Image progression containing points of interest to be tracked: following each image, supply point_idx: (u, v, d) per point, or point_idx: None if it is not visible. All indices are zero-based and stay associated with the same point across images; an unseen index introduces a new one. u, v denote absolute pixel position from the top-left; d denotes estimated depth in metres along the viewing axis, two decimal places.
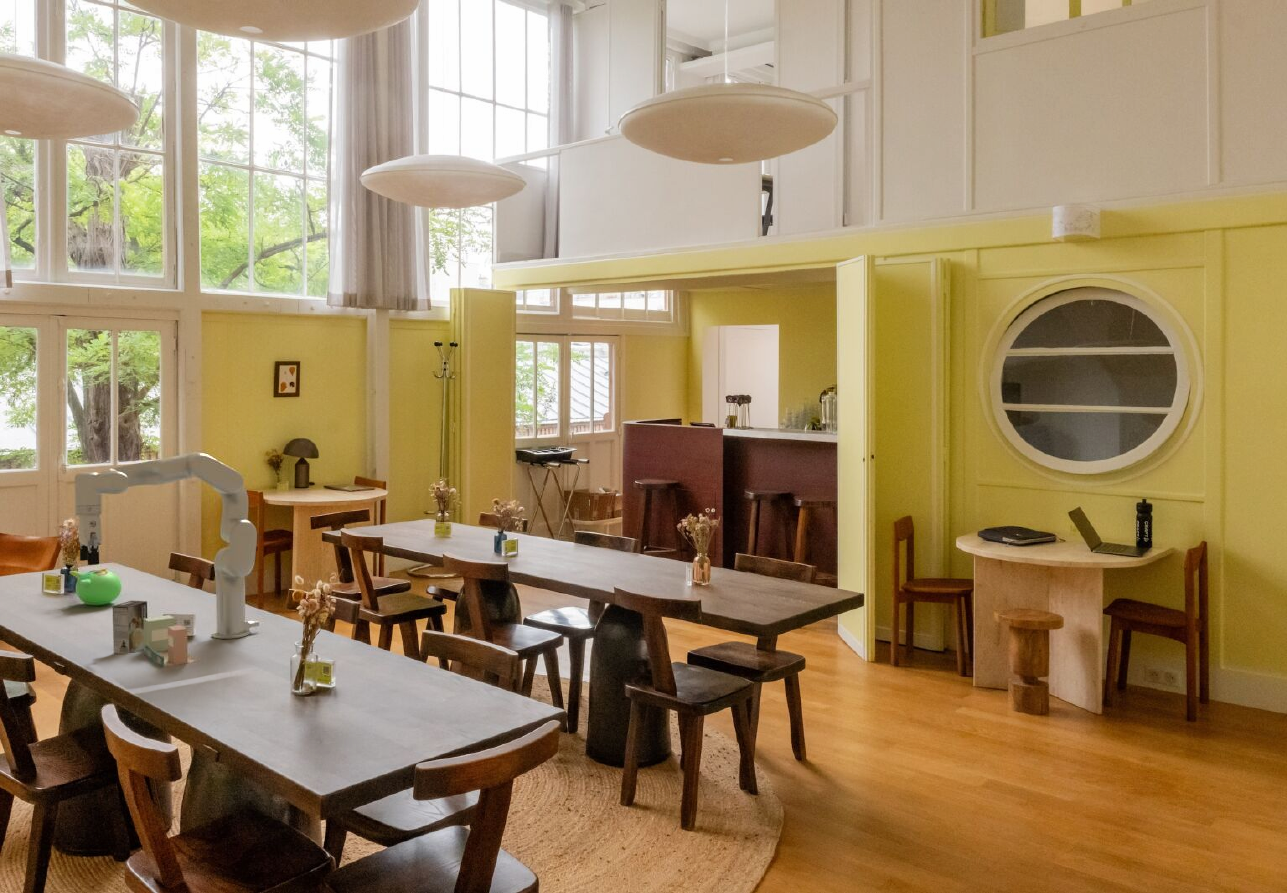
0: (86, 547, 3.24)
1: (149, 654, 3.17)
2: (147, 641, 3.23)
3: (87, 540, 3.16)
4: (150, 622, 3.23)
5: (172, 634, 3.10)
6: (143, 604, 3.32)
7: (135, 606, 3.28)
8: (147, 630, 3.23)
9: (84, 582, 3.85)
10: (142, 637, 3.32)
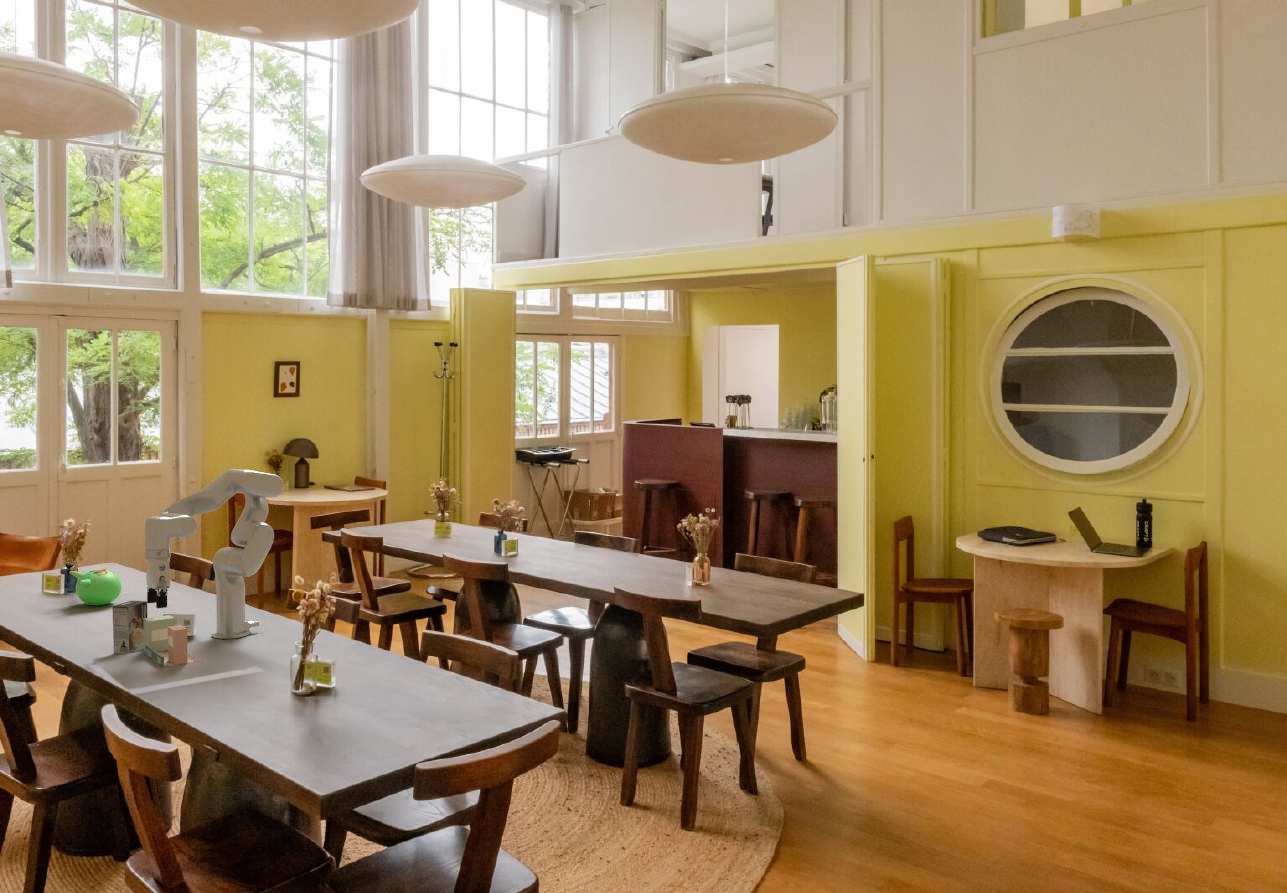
0: (153, 590, 3.29)
1: (149, 654, 3.17)
2: (147, 641, 3.23)
3: (156, 584, 3.21)
4: (150, 622, 3.23)
5: (172, 634, 3.10)
6: (143, 604, 3.32)
7: (135, 606, 3.28)
8: (147, 630, 3.23)
9: (84, 582, 3.85)
10: (142, 637, 3.32)
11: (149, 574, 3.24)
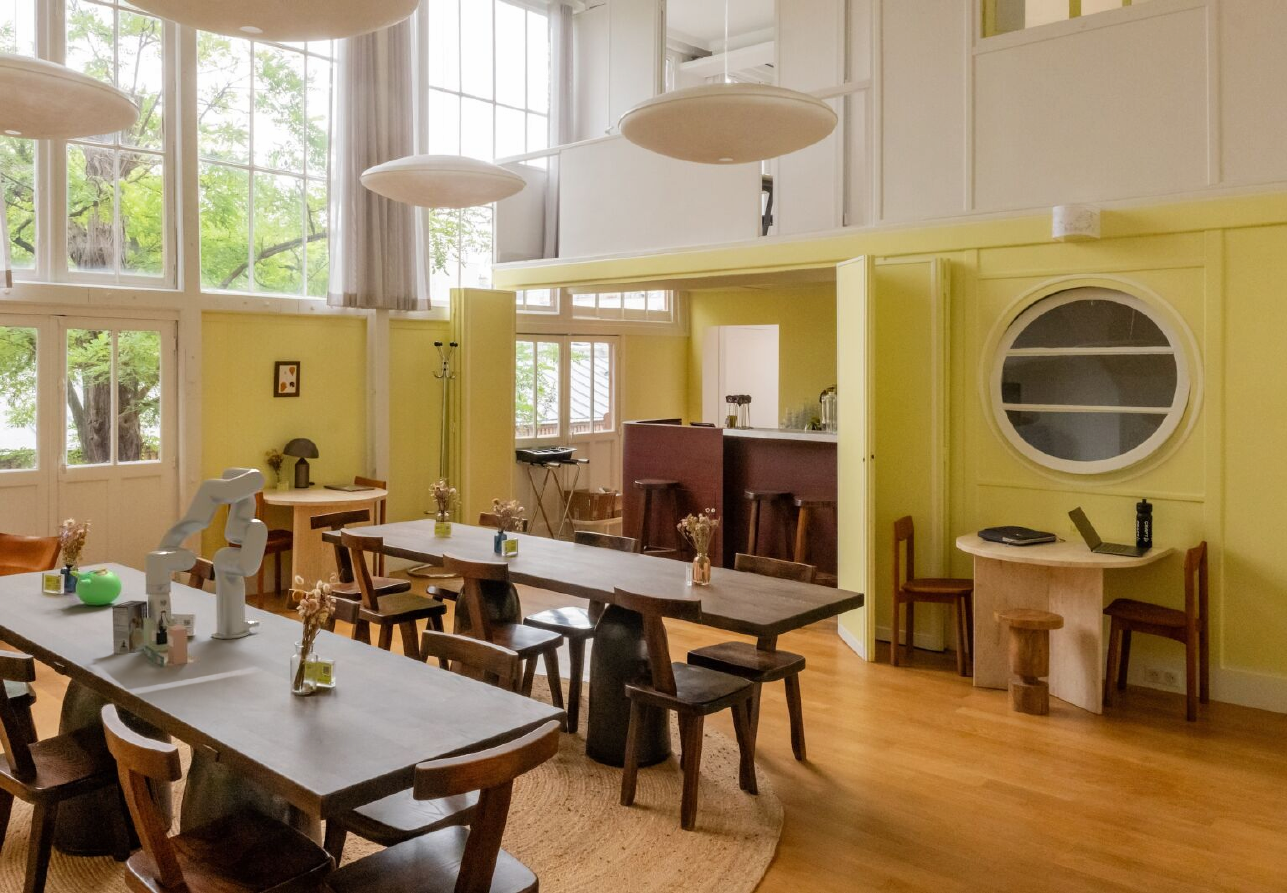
0: None
1: (149, 654, 3.17)
2: (147, 640, 3.24)
3: (158, 619, 3.22)
4: (150, 622, 3.23)
5: (172, 634, 3.10)
6: (143, 604, 3.32)
7: (135, 606, 3.28)
8: (147, 630, 3.23)
9: (84, 582, 3.85)
10: (142, 637, 3.32)
11: (150, 609, 3.25)
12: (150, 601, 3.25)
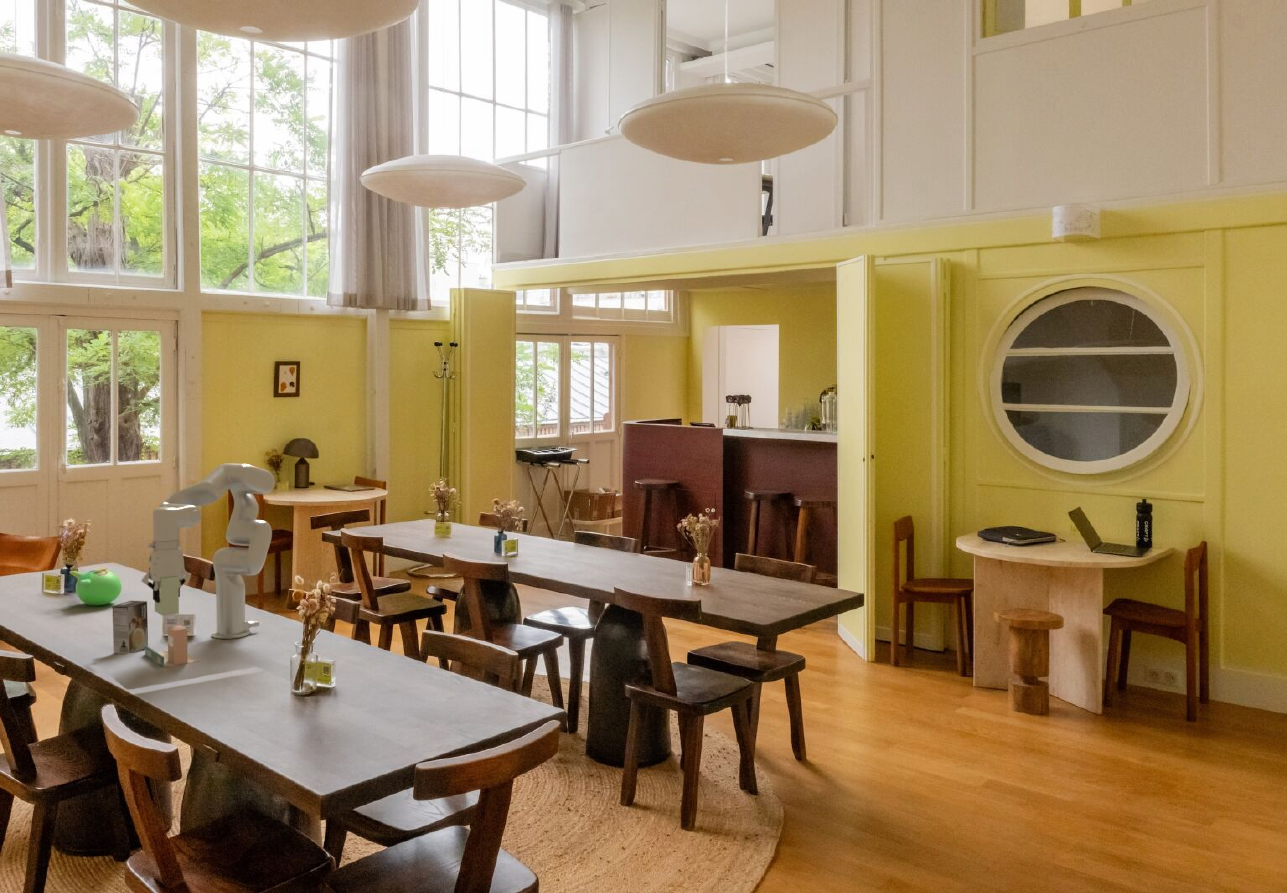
0: None
1: (149, 654, 3.17)
2: None
3: None
4: None
5: (172, 634, 3.10)
6: (143, 604, 3.32)
7: (135, 606, 3.28)
8: None
9: (84, 582, 3.85)
10: (142, 637, 3.32)
11: None
12: None
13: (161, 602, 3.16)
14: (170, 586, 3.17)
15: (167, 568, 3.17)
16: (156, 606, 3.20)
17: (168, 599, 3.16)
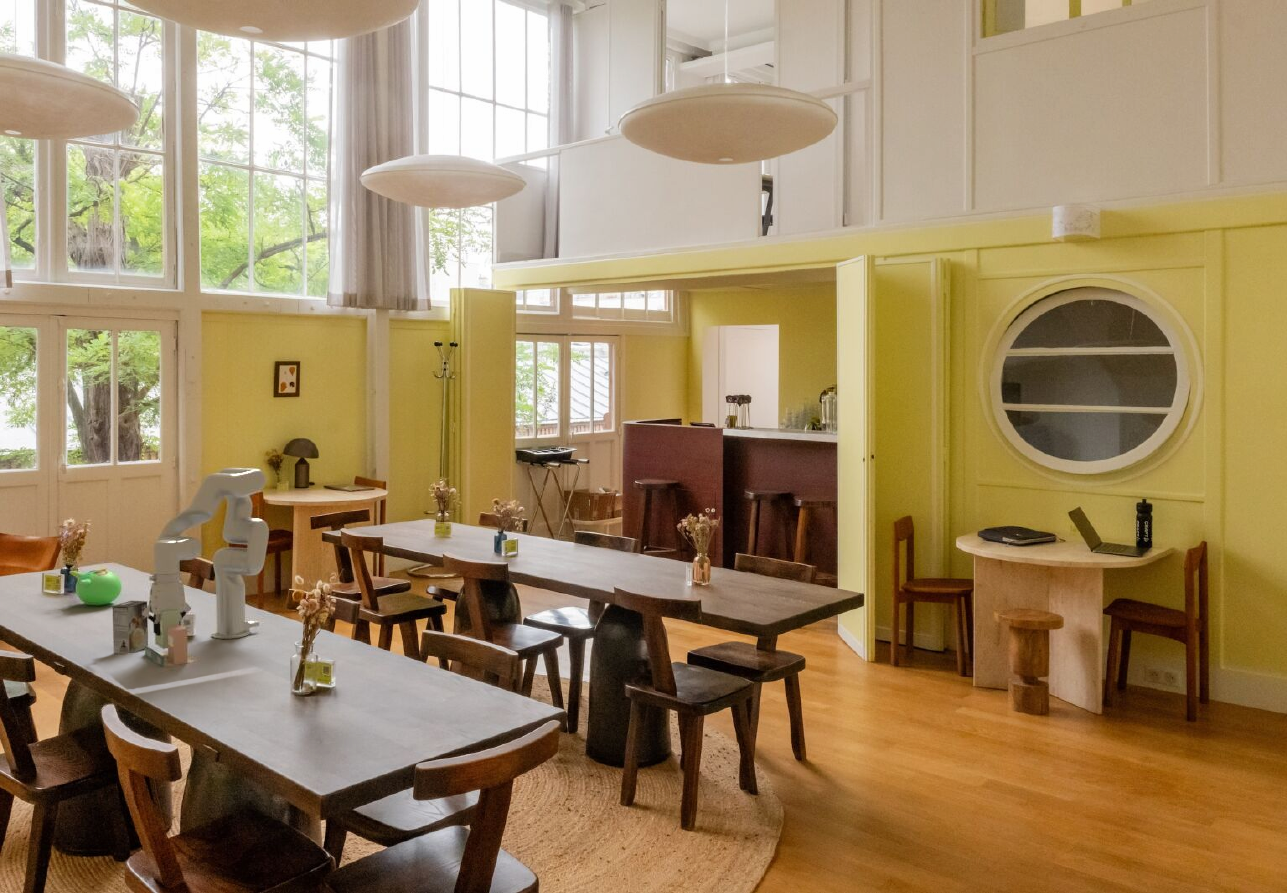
0: None
1: (149, 654, 3.17)
2: None
3: None
4: None
5: (172, 634, 3.10)
6: (143, 604, 3.32)
7: (135, 606, 3.28)
8: None
9: (84, 582, 3.85)
10: (142, 637, 3.32)
11: None
12: None
13: (162, 635, 3.16)
14: (171, 619, 3.17)
15: (168, 601, 3.17)
16: (157, 639, 3.20)
17: None
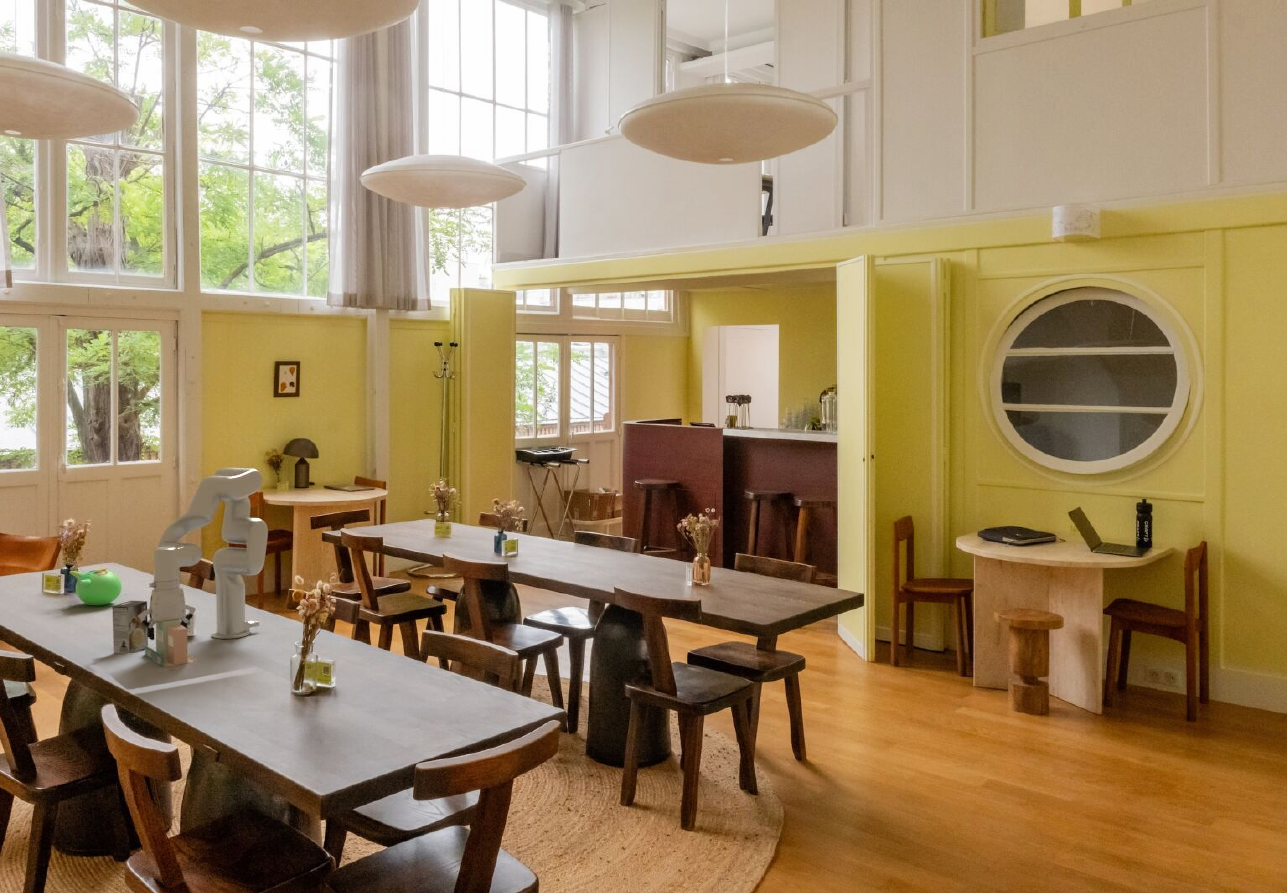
0: (182, 622, 3.23)
1: (149, 654, 3.17)
2: None
3: None
4: None
5: (172, 634, 3.10)
6: (143, 604, 3.32)
7: (135, 606, 3.28)
8: None
9: (84, 582, 3.85)
10: (142, 637, 3.32)
11: None
12: None
13: (163, 645, 3.17)
14: None
15: (168, 608, 3.17)
16: (157, 649, 3.21)
17: None
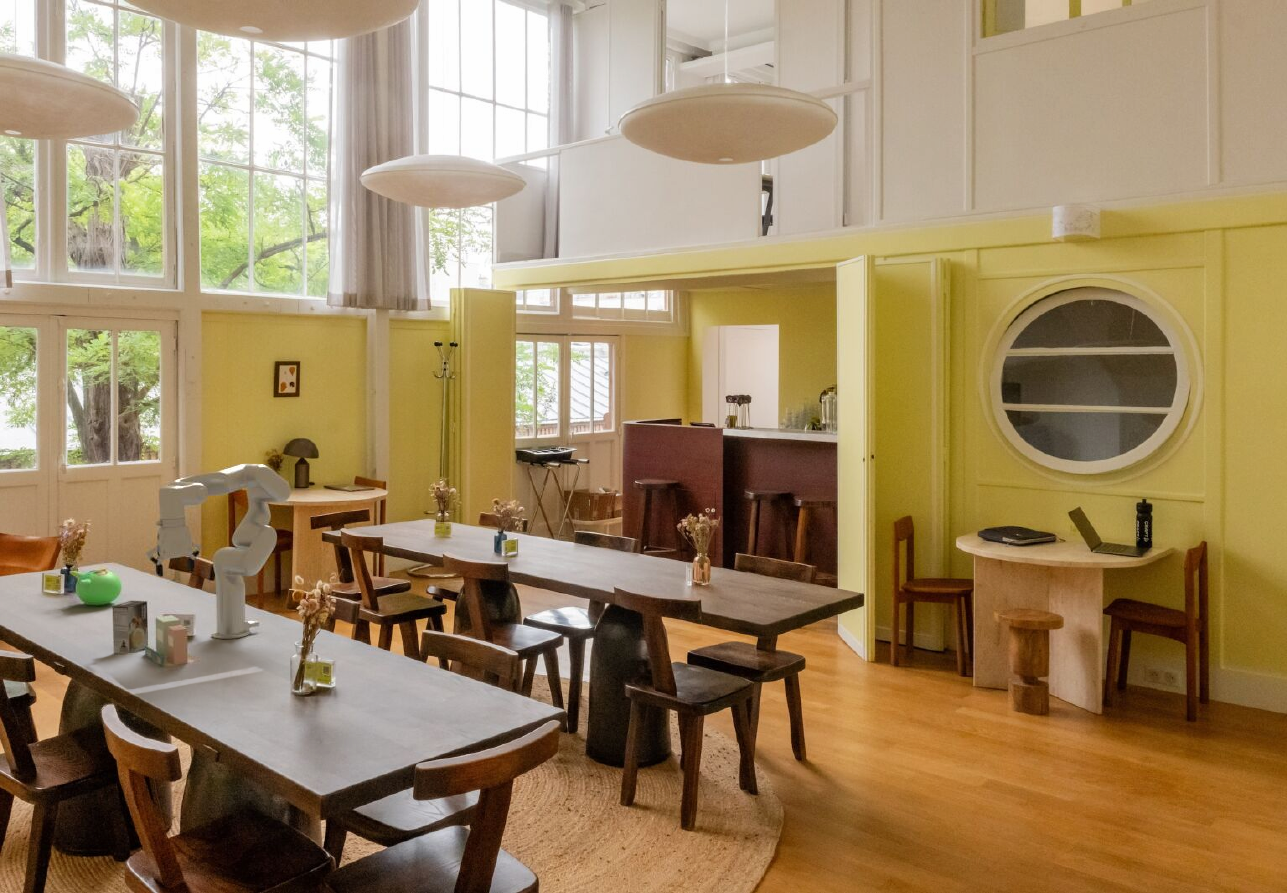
0: (189, 558, 3.31)
1: (149, 654, 3.17)
2: None
3: None
4: (156, 619, 3.21)
5: (172, 634, 3.10)
6: (143, 604, 3.32)
7: (135, 606, 3.28)
8: None
9: (84, 582, 3.85)
10: (142, 637, 3.32)
11: None
12: None
13: (163, 645, 3.17)
14: None
15: (175, 545, 3.25)
16: (157, 649, 3.21)
17: None
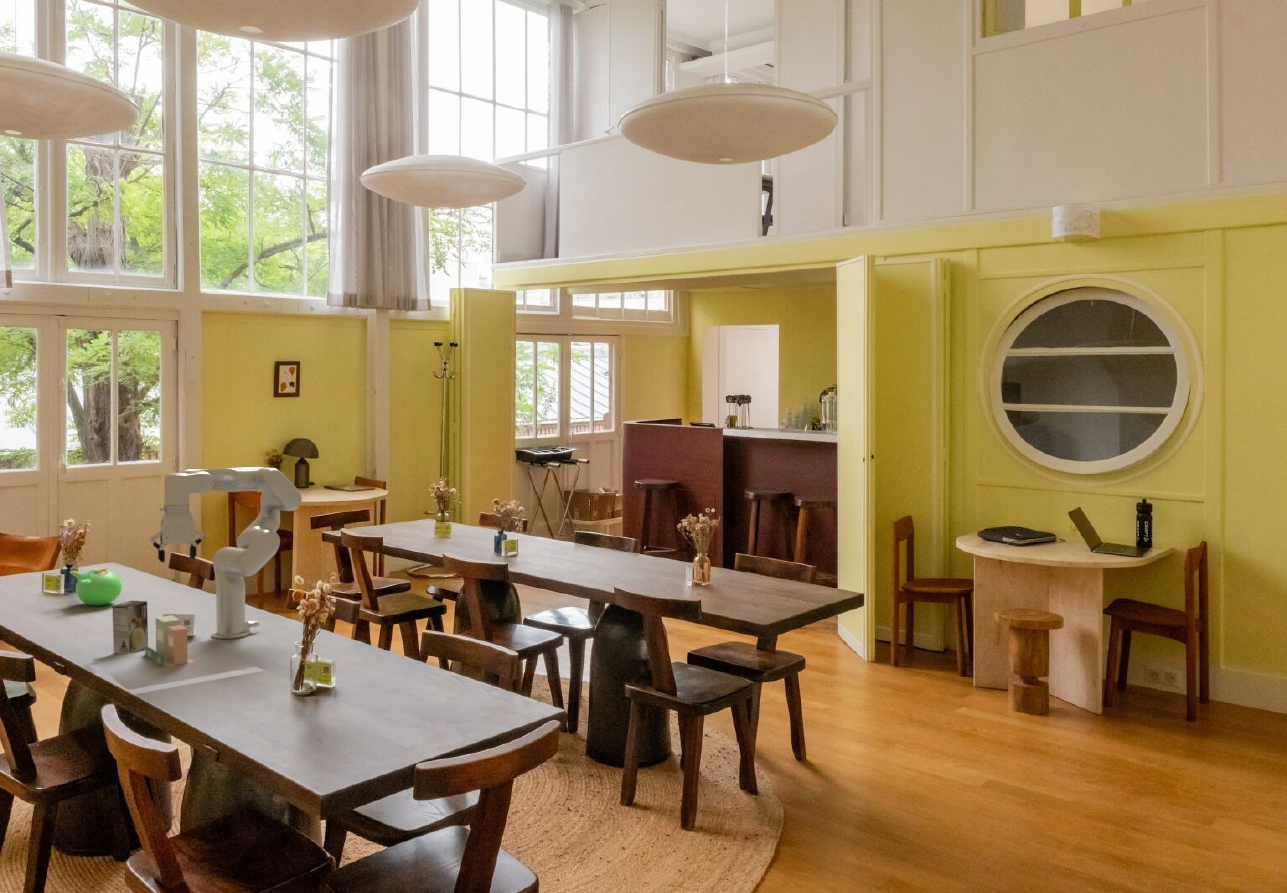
0: (192, 546, 3.35)
1: (149, 654, 3.17)
2: None
3: (160, 537, 3.30)
4: (156, 619, 3.21)
5: (172, 634, 3.10)
6: (143, 604, 3.32)
7: (135, 606, 3.28)
8: None
9: (84, 582, 3.85)
10: (142, 637, 3.32)
11: None
12: None
13: (163, 645, 3.17)
14: None
15: (178, 531, 3.30)
16: (157, 649, 3.21)
17: None
